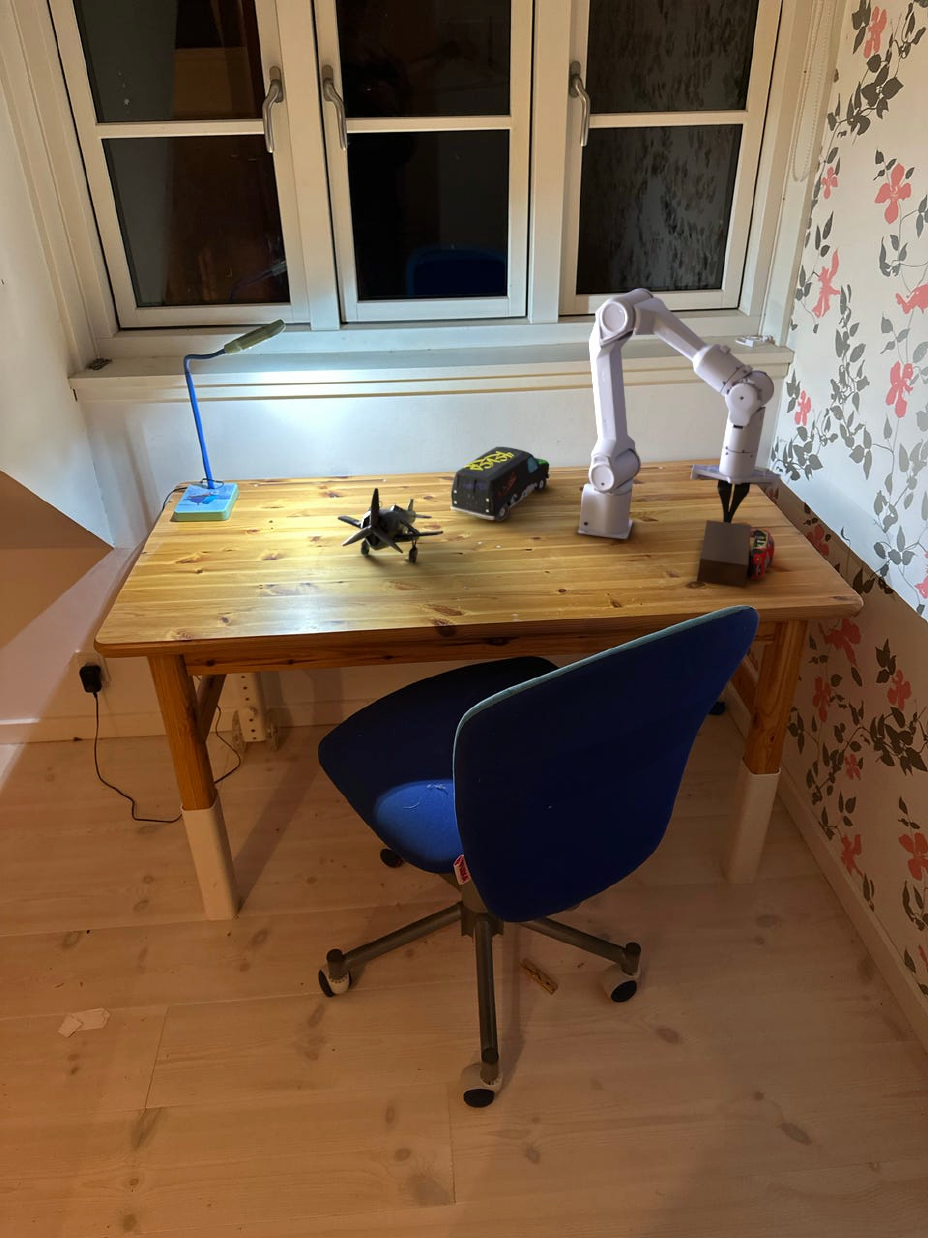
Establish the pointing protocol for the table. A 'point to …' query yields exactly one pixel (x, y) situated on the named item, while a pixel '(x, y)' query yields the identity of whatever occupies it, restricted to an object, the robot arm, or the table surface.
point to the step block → (724, 553)
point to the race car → (761, 553)
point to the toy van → (497, 482)
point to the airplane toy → (387, 528)
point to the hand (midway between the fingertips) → (727, 520)
